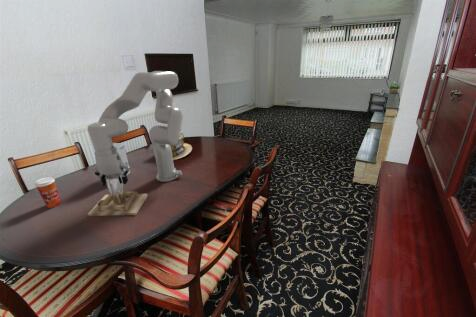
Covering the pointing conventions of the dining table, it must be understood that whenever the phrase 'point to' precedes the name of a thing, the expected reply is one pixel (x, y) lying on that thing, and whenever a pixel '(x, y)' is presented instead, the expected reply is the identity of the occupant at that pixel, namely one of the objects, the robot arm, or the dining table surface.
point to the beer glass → (116, 188)
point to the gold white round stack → (180, 148)
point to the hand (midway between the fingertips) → (115, 183)
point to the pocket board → (129, 208)
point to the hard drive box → (121, 154)
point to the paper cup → (48, 191)
